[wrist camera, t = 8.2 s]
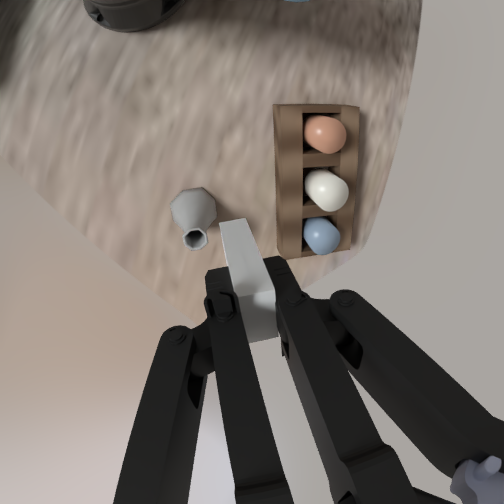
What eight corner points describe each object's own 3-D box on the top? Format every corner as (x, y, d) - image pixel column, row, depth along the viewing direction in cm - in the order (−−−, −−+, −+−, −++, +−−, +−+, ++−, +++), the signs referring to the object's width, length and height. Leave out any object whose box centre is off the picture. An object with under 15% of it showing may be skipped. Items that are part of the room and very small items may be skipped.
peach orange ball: (299, 114, 40) (312, 117, 36) (331, 114, 41) (346, 118, 36) (300, 147, 43) (312, 154, 38) (330, 146, 43) (345, 153, 39)
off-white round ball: (303, 169, 43) (316, 178, 39) (334, 167, 44) (349, 176, 39) (303, 200, 45) (315, 213, 41) (333, 197, 46) (347, 209, 42)
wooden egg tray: (272, 104, 40) (280, 106, 37) (346, 104, 42) (359, 107, 38) (277, 248, 52) (283, 260, 49) (340, 238, 54) (349, 249, 51)
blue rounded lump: (300, 214, 48) (311, 228, 44) (328, 211, 49) (341, 224, 45) (299, 241, 51) (309, 257, 47) (326, 237, 51) (338, 252, 47)
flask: (204, 178, 44) (208, 202, 35) (224, 217, 48) (233, 249, 39) (161, 201, 44) (155, 229, 36) (184, 237, 48) (184, 272, 40)
